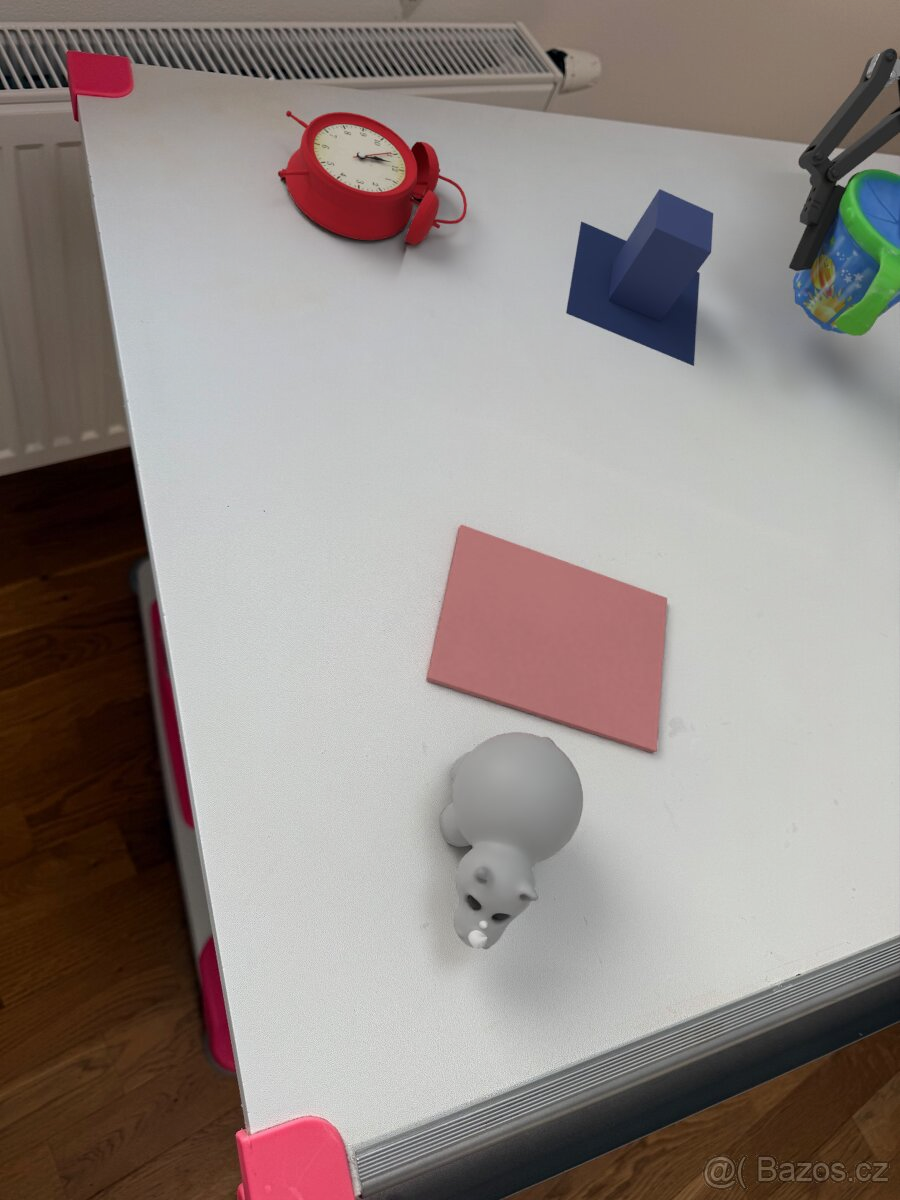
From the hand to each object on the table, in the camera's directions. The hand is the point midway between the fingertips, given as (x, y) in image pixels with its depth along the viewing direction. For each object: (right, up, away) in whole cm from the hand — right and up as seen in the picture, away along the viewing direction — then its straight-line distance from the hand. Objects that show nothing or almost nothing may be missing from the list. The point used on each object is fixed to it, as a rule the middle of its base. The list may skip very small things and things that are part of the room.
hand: (858, 294), depth 80 cm
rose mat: (-27, -28, -15) cm, 42 cm away
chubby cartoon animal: (-33, -40, -24) cm, 57 cm away
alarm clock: (-41, +7, -1) cm, 41 cm away
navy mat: (-18, +1, +4) cm, 18 cm away
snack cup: (-1, 0, +5) cm, 5 cm away
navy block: (-18, +1, +4) cm, 18 cm away
